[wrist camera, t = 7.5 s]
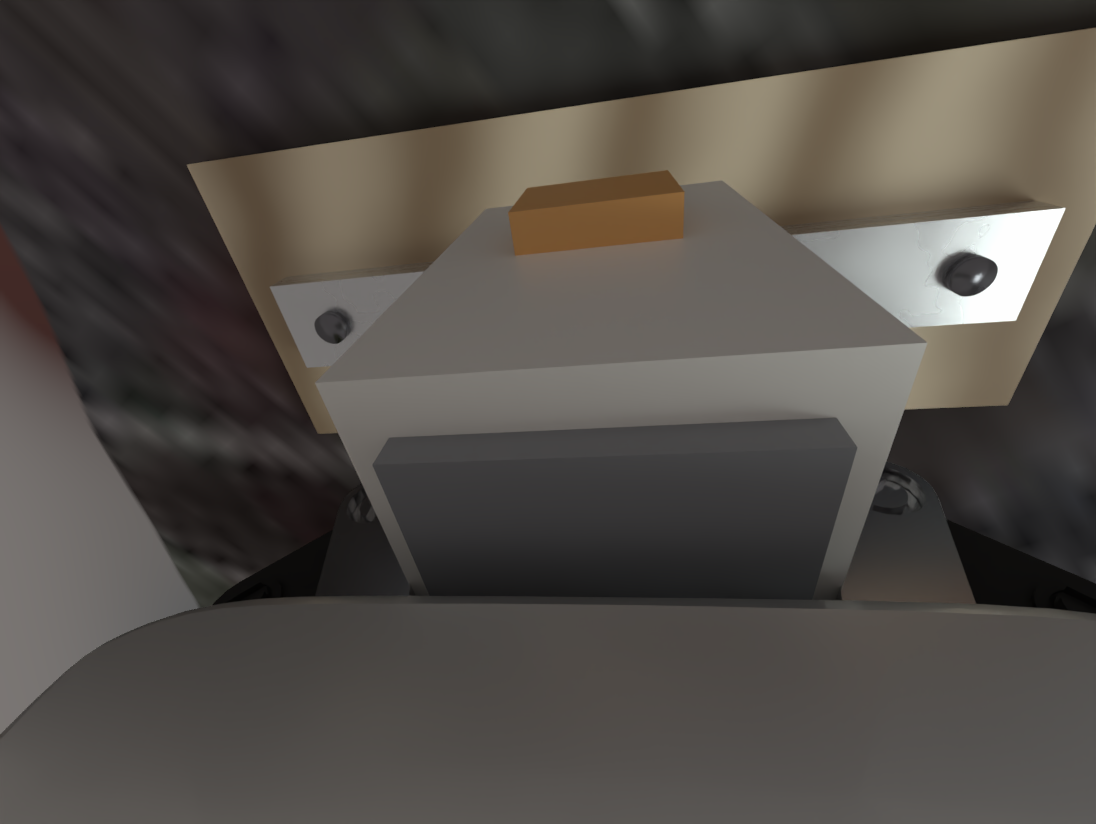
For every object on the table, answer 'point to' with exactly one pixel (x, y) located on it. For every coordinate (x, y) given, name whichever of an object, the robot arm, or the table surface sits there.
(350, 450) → the box
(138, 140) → the table surface
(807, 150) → the rail board
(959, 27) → the table surface
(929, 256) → the rail
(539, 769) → the robot arm
